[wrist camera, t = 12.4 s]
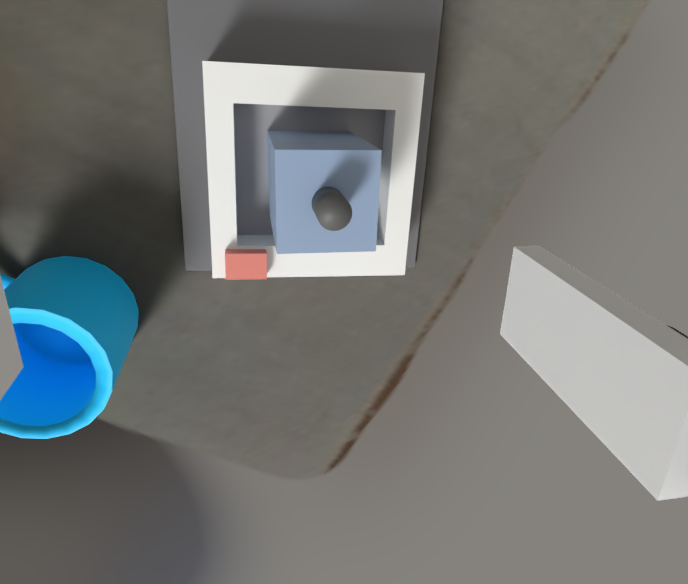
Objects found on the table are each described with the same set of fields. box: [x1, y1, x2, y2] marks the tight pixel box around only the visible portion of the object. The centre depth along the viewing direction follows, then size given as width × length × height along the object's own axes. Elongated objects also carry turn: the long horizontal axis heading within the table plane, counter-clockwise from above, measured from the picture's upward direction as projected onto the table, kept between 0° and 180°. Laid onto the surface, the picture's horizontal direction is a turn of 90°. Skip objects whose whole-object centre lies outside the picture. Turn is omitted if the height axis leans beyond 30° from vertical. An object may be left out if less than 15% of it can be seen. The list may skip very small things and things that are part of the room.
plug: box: [267, 130, 382, 254], centre depth 28 cm, size 5×5×10 cm
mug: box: [0, 256, 139, 439], centre depth 31 cm, size 12×8×8 cm
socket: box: [167, 0, 443, 280], centre depth 32 cm, size 18×16×5 cm
